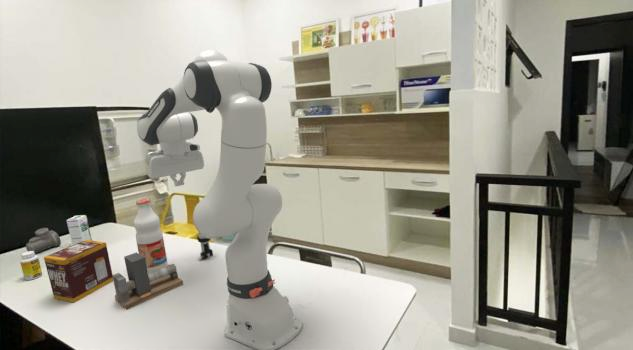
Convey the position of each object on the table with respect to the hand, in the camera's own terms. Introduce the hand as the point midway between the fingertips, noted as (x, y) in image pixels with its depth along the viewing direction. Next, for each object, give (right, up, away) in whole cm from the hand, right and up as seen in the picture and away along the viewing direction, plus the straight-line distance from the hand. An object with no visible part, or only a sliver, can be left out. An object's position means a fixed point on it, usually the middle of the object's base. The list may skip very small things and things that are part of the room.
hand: (179, 185), depth 129 cm
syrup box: (-61, -30, +38) cm, 77 cm away
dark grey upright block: (-9, -35, -11) cm, 38 cm away
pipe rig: (-7, -36, -8) cm, 38 cm away
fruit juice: (-13, -33, +9) cm, 37 cm away
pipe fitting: (-78, -32, +36) cm, 91 cm away
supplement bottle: (-61, -37, +9) cm, 71 cm away
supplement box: (-32, -37, -4) cm, 50 cm away
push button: (+5, -31, +16) cm, 35 cm away
